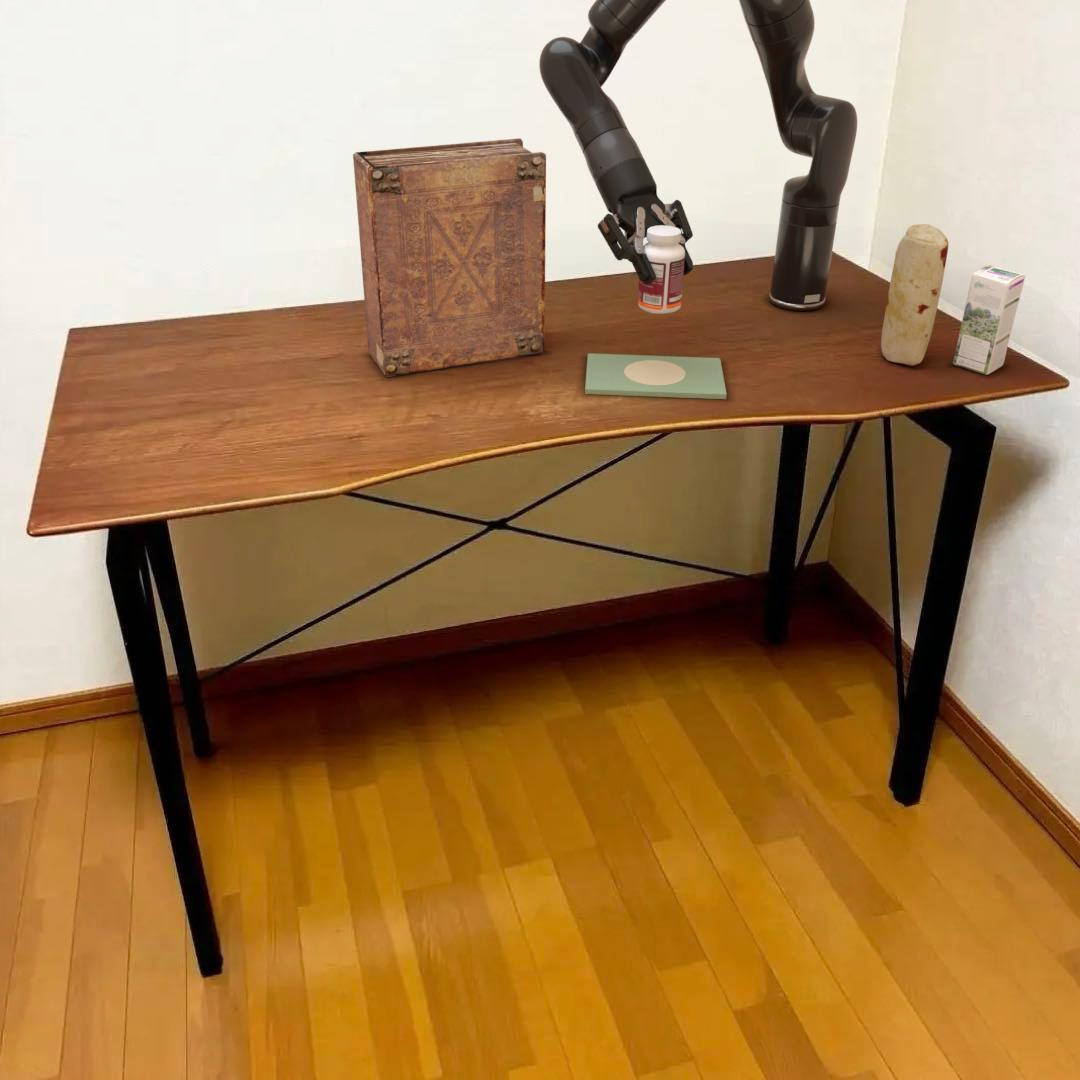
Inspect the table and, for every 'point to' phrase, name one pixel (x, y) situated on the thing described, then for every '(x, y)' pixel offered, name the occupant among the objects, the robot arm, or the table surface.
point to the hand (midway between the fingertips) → (669, 276)
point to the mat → (655, 376)
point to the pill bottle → (663, 271)
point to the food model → (914, 294)
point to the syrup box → (988, 319)
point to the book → (452, 253)
